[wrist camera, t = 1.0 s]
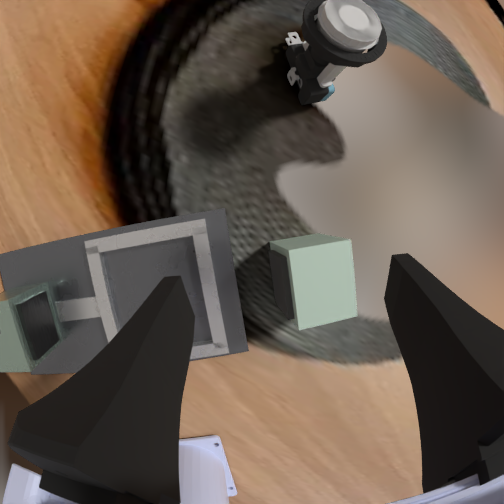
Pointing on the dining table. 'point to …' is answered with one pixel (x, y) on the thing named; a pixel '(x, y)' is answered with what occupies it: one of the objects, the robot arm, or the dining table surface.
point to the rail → (115, 291)
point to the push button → (332, 45)
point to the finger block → (313, 279)
